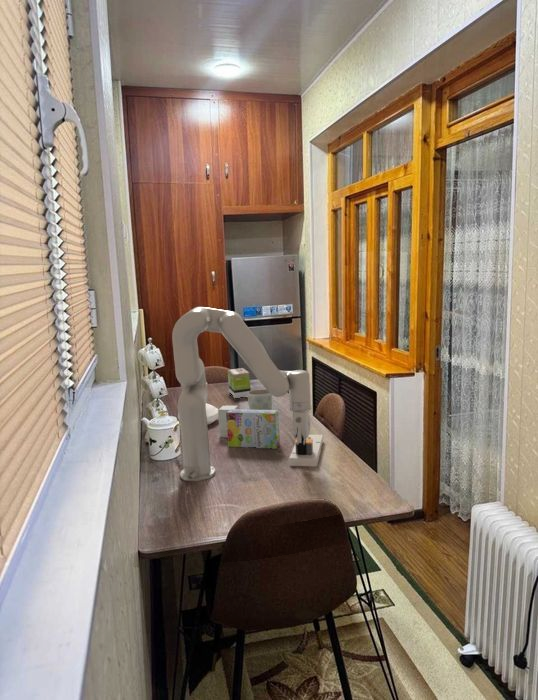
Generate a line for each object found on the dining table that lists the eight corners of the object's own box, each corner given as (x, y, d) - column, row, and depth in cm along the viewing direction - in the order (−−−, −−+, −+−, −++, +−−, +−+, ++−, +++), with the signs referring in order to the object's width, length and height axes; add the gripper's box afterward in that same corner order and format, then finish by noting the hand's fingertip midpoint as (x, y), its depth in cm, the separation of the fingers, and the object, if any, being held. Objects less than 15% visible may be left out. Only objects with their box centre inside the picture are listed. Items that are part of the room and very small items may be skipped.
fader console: (316, 466, 180) (316, 458, 179) (289, 465, 182) (289, 457, 181) (323, 441, 205) (322, 434, 204) (299, 441, 207) (298, 434, 206)
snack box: (280, 444, 204) (278, 409, 202) (277, 449, 199) (275, 413, 197) (232, 442, 210) (229, 408, 208) (227, 447, 205) (225, 412, 202)
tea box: (228, 393, 295) (227, 369, 292) (245, 391, 298) (243, 367, 295) (234, 399, 281) (232, 373, 278) (251, 397, 284) (250, 372, 281)
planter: (276, 413, 248) (275, 392, 246) (253, 417, 243) (252, 396, 242) (267, 408, 259) (266, 387, 258) (245, 411, 255) (244, 391, 253)
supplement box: (235, 437, 216) (233, 409, 214) (219, 437, 217) (217, 409, 215) (240, 432, 223) (238, 405, 221) (224, 432, 224) (222, 405, 222)
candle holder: (181, 418, 250) (177, 381, 246) (220, 415, 251) (218, 378, 248) (176, 430, 230) (172, 390, 227) (219, 427, 231) (216, 387, 228)
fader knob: (312, 454, 183) (311, 442, 182) (295, 454, 184) (295, 442, 183) (313, 450, 186) (312, 439, 185) (297, 450, 187) (296, 438, 187)
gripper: (308, 411, 168) (310, 462, 171) (312, 399, 182) (314, 447, 185) (286, 411, 169) (288, 461, 172) (292, 399, 184) (295, 446, 187)
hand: (302, 454), depth 179 cm, fingers closed
